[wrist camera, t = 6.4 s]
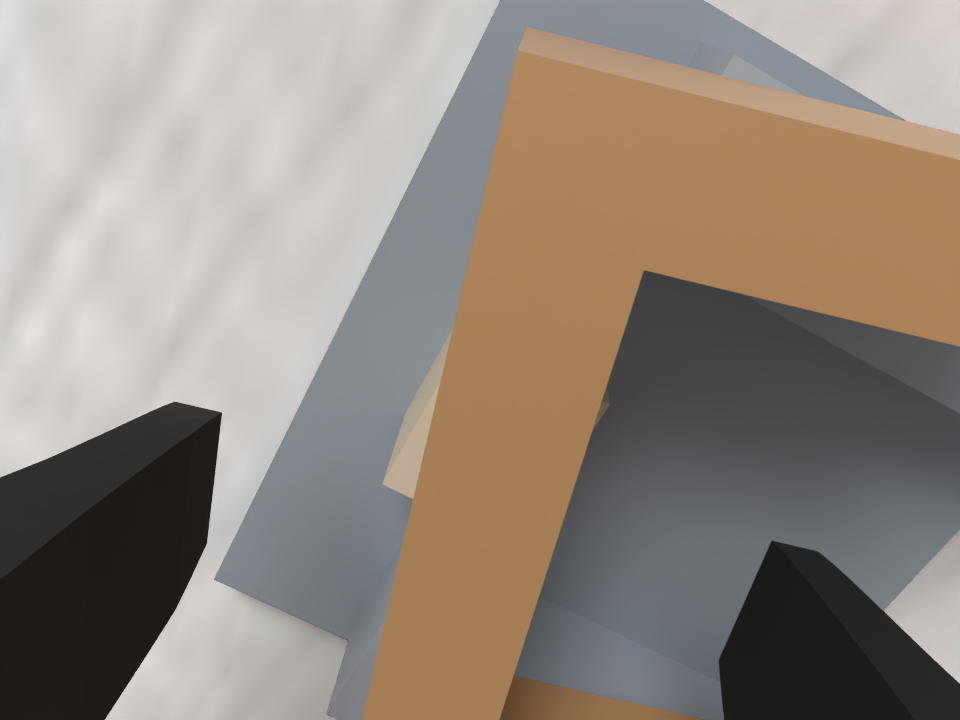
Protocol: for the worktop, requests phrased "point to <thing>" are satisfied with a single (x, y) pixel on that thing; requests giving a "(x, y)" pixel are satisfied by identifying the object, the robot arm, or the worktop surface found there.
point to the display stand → (614, 420)
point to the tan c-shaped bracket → (605, 311)
